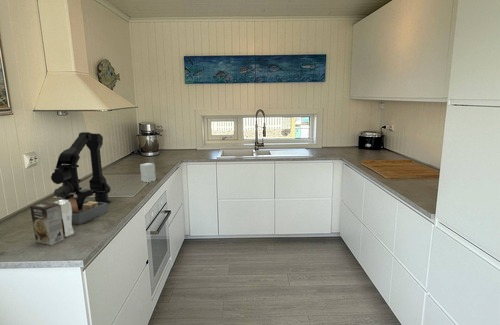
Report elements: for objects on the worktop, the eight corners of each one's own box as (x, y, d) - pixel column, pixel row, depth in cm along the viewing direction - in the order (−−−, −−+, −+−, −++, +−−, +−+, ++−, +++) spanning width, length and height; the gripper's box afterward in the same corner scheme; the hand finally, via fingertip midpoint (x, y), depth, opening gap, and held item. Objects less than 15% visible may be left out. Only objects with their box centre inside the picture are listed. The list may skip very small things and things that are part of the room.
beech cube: (91, 210, 167) (90, 201, 166) (98, 211, 165) (97, 202, 164) (83, 213, 162) (82, 204, 161) (91, 214, 160) (90, 205, 159)
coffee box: (35, 242, 131) (28, 205, 128) (49, 236, 137) (44, 200, 134) (50, 245, 128) (44, 208, 125) (64, 239, 134) (59, 203, 131)
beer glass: (55, 239, 134) (50, 205, 131) (58, 232, 141) (53, 200, 138) (74, 236, 137) (69, 203, 134) (76, 230, 143) (71, 198, 140)
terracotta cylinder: (76, 209, 158) (74, 196, 156) (84, 210, 156) (82, 196, 155) (67, 212, 153) (65, 199, 152) (75, 214, 151) (73, 200, 150)
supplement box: (156, 180, 227) (154, 163, 224) (147, 183, 221) (146, 165, 218) (149, 179, 231) (148, 162, 229) (141, 181, 225) (139, 164, 223)
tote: (87, 209, 170) (86, 200, 169) (108, 212, 165) (107, 203, 164) (58, 221, 154) (57, 211, 153) (80, 224, 149) (79, 214, 148)
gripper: (41, 181, 147) (46, 213, 150) (72, 184, 141) (76, 217, 144) (62, 175, 157) (66, 205, 160) (91, 178, 151) (95, 209, 154)
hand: (75, 209), depth 154 cm, fingers closed on terracotta cylinder, 5 cm apart
